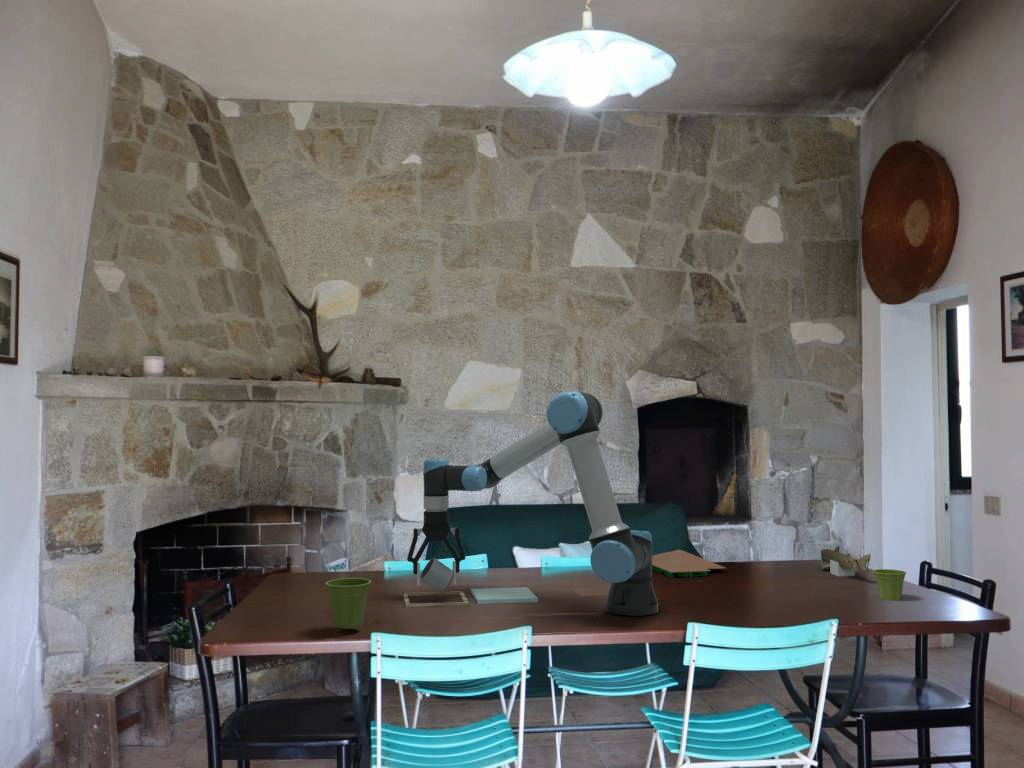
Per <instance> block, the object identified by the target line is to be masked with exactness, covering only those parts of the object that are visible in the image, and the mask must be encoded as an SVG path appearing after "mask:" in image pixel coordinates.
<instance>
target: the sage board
mask: <svg viewBox="0 0 1024 768" xmlns="http://www.w3.org/2000/svg"><path fill="white" fill-rule="evenodd" d="M470 594H471V596H472V597H473V598H474V600H475V602H476V604H477V605H481V604H484V605H486V604H487V605H488V604H519V603H520V604H521V603H523V604H524V603H538V602H539V599H538V597H537V595H535V594H534V593H533V591H532V590H530V588H529V587H527V586H526V587H524V586H523V587H494V588H492V587H491V588H490V587H488V588H487V587H486V588H470Z"/></svg>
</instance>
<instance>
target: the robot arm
mask: <svg viewBox="0 0 1024 768" xmlns="http://www.w3.org/2000/svg"><path fill="white" fill-rule="evenodd" d="M603 411H604V410H603V407H602V403H600V401H599V400H598V398H596V396H594V395H592V394H591V393H587V392H578V391H576V390H575V391H574V390H568V391H563V392H560V393H558V394H556V395H555V396H554V397H553V398H552V399H551V400H550V402H549V404H548V406H547V409H546V419H547V421H548V422H547V423H544V424H543V425H542V426H540V427H538V428H537V429H536V430H533V431H531V432H530V433H528V434H527V435H526V436H524V437H522V438H521V439H519V440H517V441H516V442H514V443H512V444H511V445H509V446H508V447H506V448H504V449H503V450H501V451H500V452H498V453H497V454H495V455H493V456H492V457H490V458H488V459H487V460H485V461H484V462H482V463H480V464H479V463H478V464H470V465H451V464H449V460H448V459H447V458H427V459H425V460H424V463H423V473H422V475H423V509H424V511H423V525H422V527H421V528H416V527H414V528H413V530H412V531H413V535H412V536H413V537H412V540H411V543H410V546H409V551H408V554H407V558H406V561H407V562H409V563H412V573H413V575H416V586H417V587H420V586H421V580H420V576H421V564H420V562H419V560H420V558H421V557H422V555H423V553H424V552H425V550H426V548H427V546H428V545H429V543H430V542H443V543H444V544H445V545H446V547H447V549H448V550H449V553H450V554H451V556H452V558H453V559H454V561H452V571H453V572H454V578H453V580H452V585H454V586H455V585H457V574H458V573H460V563H461V561H465V560H466V555H465V552H464V548H463V545H462V542H461V541H462V540H461V538H460V528H459V527H458V526H455V527H450V524H449V523H450V522H449V521H450V520H449V519H450V517H449V514H450V513H449V511H448V509H449V508H450V507H449V505H450V504H449V491H458V492H459V491H461V492H481V491H483V490H484V489H491V488H494V487H495V486H497V485H499V483H500V482H501V481H502V480H504V479H505V478H506V477H509V476H510V475H512V474H513V473H514V472H516V471H518V470H520V469H521V468H524V467H526V465H528V464H530V463H532V462H533V461H535V460H537V459H538V458H540V457H543V455H545V454H547V453H548V452H550V451H551V450H554V449H555V448H557V447H558V446H560V445H562V446H563V447H565V448H566V449H567V452H568V455H569V458H570V461H571V464H572V468H573V471H574V475H575V477H576V481H577V484H578V488H579V491H580V495H581V498H582V502H583V504H584V507H585V508H584V509H585V511H586V514H587V517H588V521H589V524H590V528H591V534H590V535H589V536H588V537H589V539H588V540H589V544H590V546H591V550H592V551H591V553H590V559H589V560H590V566H591V569H592V571H593V573H594V574H595V575H596V576H597V577H598V578H599V579H600V580H602V581H604V582H607V583H609V584H610V586H609V590H608V592H607V596H606V599H605V602H604V605H605V608H604V610H605V611H606V612H608V613H611V614H613V615H614V614H615V615H620V616H629V617H630V616H632V617H633V616H635V617H637V616H639V617H640V616H651V615H655V614H657V613H659V602H658V599H657V597H656V596H657V595H656V593H655V590H654V586H653V569H652V556H653V538H652V534H651V532H649V531H648V530H647V531H645V530H632V529H630V526H629V525H627V524H626V523H624V522H623V521H622V518H621V514H620V511H619V508H618V507H619V506H618V505H617V502H616V497H615V495H614V491H613V488H612V485H611V482H610V479H609V475H608V472H607V469H606V465H605V462H604V459H603V456H602V453H601V449H600V446H599V443H598V437H599V435H600V433H601V430H600V428H599V425H600V423H601V422H602V418H603ZM450 532H451V534H452V535H453V536H454V541H455V542H456V545H457V549H458V552H459V556H458V555H457V553H456V551H455V550H454V548H453V546H452V544H451V543H450V541H449V539H448V538H447V536H448V535H449V534H450ZM422 533H423V535H424V536H425V538H424V540H423V542H422V544H421V546H420V547H419V549H418V550H417V553H416V555H414V553H415V549H416V546H417V545H416V544H417V542H418V539H419V536H420V535H421V534H422ZM413 556H414V557H413Z"/></svg>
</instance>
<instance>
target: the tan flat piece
mask: <svg viewBox="0 0 1024 768" xmlns="http://www.w3.org/2000/svg"><path fill="white" fill-rule="evenodd" d="M655 568H656V572H659V573H661V570H662V571H665V575H667V576H668V577H669V578H671V579H672V578H674V573H679V575H680V576H683V578H684V577H685V578H688V576H689V577H692V578H693V577H697V575H698V574H700V575H702V577H704V576H705V577H706V576H707V577H708V572H711V570H714V571H717V570H718V569H719V570H720V569H721V570H722V569H726V567H725V566H722V565H720V564H717V563H715V562H713V561H710V560H709V559H708V560H707V559H705V558H703V557H699V556H697V555H695V554H693V553H690V552H687V551H685V550H682V549H679V548H678V549H676V550H672V551H666V552H662V553H657V554H654V555H653V554H652V570H655ZM693 573H694V574H693Z"/></svg>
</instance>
